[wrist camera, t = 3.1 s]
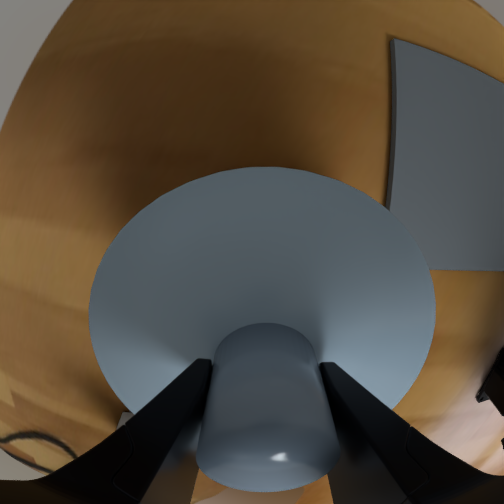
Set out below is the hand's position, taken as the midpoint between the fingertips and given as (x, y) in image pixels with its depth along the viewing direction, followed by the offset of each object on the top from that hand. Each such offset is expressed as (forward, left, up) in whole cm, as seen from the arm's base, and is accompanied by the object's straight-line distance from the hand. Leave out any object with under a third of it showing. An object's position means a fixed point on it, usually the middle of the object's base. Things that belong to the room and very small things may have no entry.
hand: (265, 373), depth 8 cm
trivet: (-13, -7, -9) cm, 17 cm away
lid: (0, 0, -1) cm, 1 cm away
